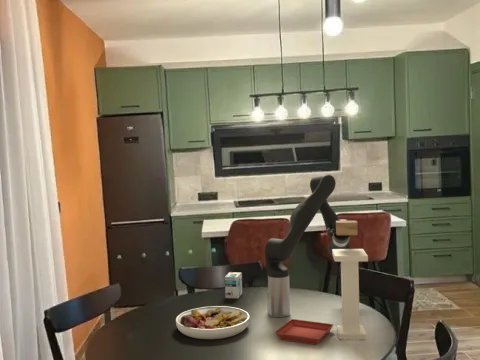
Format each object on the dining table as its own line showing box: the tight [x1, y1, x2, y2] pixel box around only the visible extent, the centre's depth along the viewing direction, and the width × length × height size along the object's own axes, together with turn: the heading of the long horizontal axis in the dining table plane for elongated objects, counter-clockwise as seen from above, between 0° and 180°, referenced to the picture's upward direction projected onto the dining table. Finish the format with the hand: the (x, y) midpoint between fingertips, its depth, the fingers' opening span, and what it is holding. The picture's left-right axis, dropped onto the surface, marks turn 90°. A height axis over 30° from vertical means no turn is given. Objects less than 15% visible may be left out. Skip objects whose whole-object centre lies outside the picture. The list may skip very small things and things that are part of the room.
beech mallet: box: [336, 218, 359, 236], centre depth 215 cm, size 23×8×5 cm, turn 174°
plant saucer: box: [274, 318, 334, 345], centre depth 201 cm, size 18×18×3 cm
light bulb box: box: [224, 271, 243, 299], centre depth 259 cm, size 11×7×11 cm, turn 168°
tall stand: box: [332, 248, 369, 340], centre depth 199 cm, size 14×12×32 cm
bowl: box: [175, 305, 251, 340], centre depth 212 cm, size 30×30×8 cm
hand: (343, 221), depth 219 cm, fingers closed on beech mallet, 3 cm apart
